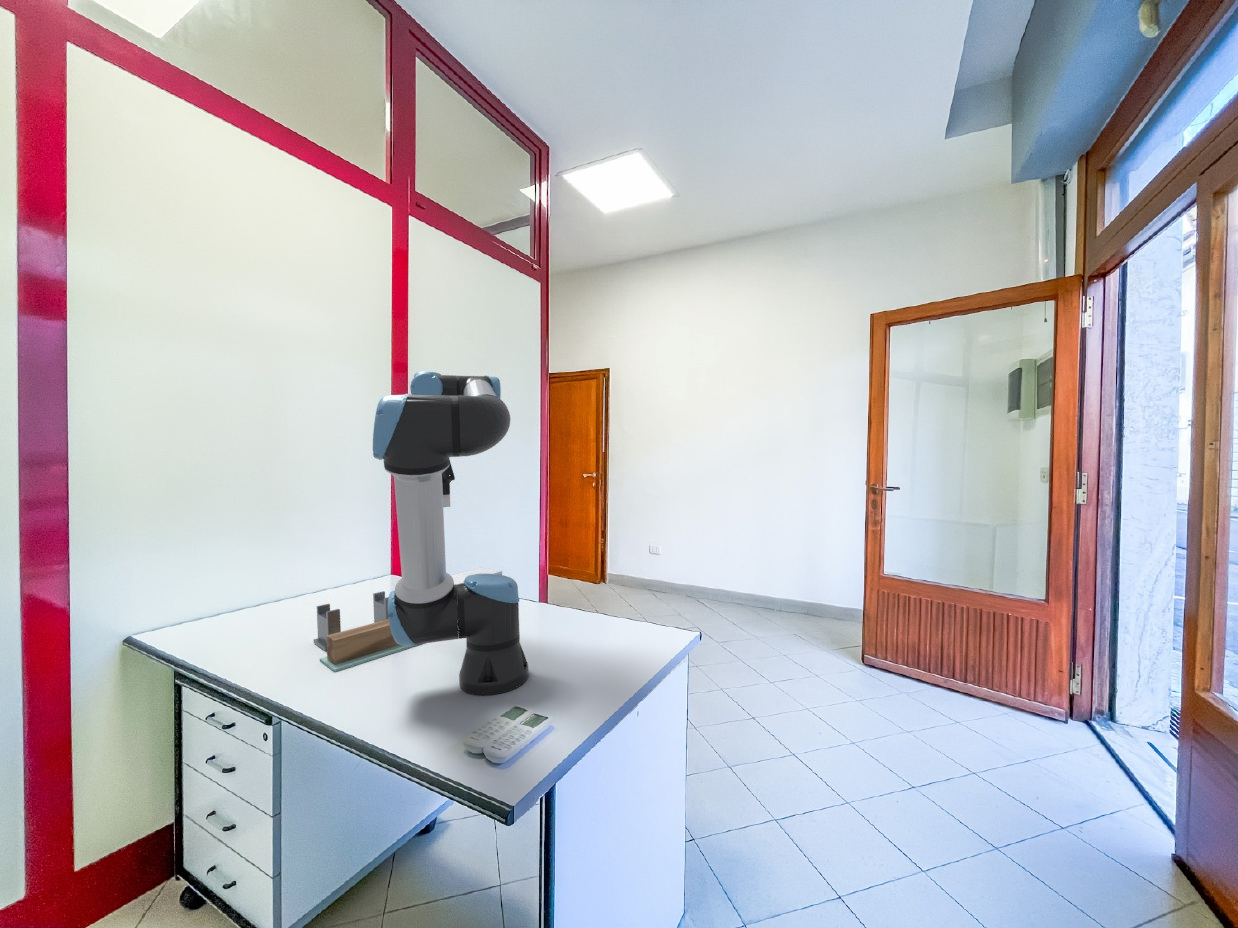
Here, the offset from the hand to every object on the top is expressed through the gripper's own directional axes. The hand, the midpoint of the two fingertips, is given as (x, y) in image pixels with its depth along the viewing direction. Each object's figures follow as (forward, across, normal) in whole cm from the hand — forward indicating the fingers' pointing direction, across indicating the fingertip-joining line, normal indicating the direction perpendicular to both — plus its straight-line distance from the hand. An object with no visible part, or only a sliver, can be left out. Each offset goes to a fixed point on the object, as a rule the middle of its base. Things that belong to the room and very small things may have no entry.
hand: (432, 505), depth 137 cm
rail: (+36, +3, +15) cm, 39 cm away
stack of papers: (+37, +15, -14) cm, 43 cm away
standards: (+37, +18, +14) cm, 43 cm away
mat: (+37, +3, +15) cm, 40 cm away
